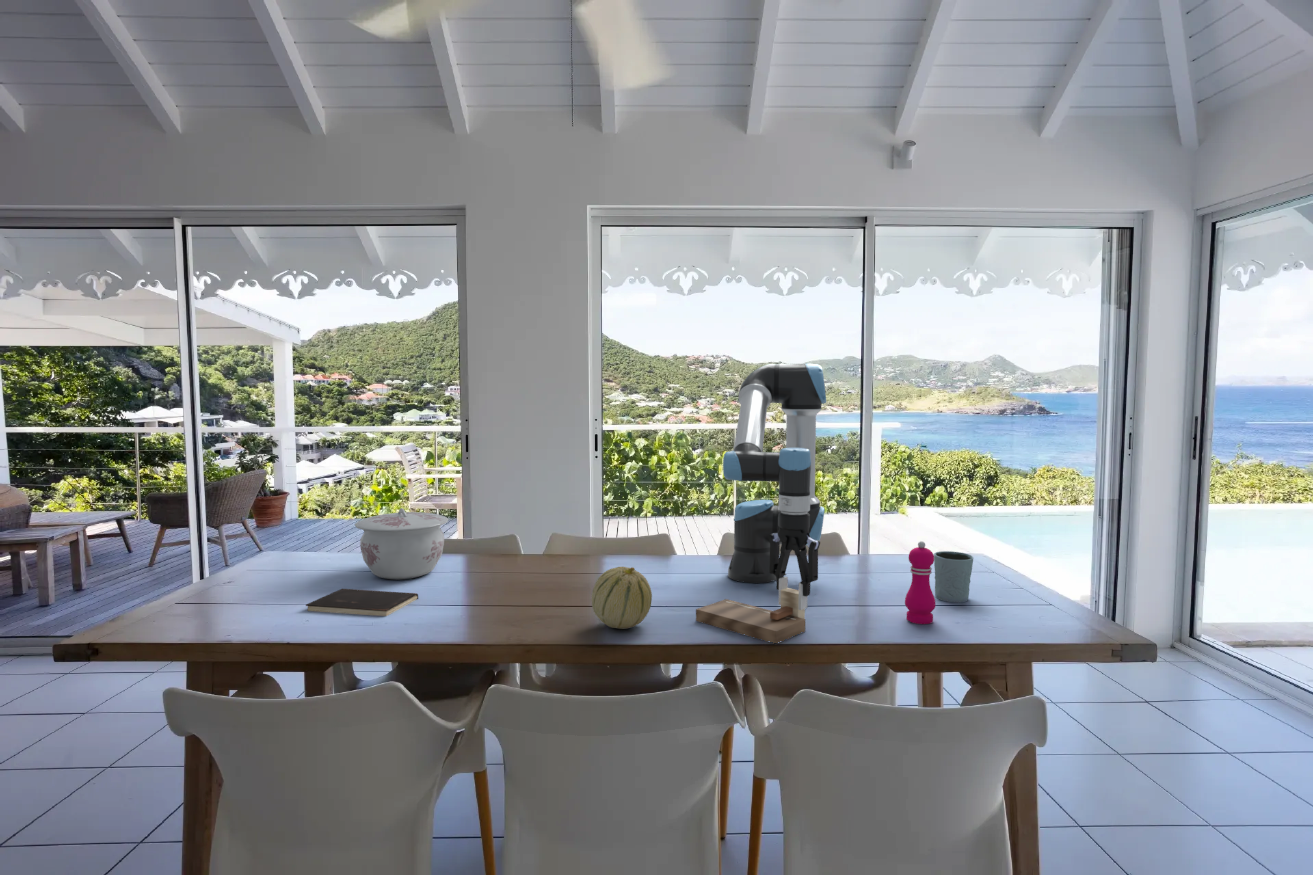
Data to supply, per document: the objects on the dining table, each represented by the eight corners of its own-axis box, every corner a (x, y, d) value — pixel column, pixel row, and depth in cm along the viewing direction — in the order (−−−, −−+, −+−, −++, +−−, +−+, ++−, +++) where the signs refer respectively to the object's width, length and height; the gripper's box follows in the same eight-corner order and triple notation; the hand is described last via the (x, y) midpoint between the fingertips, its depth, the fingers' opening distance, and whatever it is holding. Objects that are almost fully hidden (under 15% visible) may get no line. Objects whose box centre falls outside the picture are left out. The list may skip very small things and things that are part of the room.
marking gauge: (764, 628, 179) (765, 595, 178) (790, 617, 187) (791, 586, 186) (782, 633, 175) (782, 599, 175) (807, 622, 183) (808, 590, 183)
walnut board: (696, 620, 186) (696, 608, 186) (726, 610, 194) (726, 598, 194) (776, 644, 169) (776, 630, 169) (805, 631, 178) (805, 618, 178)
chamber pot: (411, 590, 213) (409, 518, 212) (335, 581, 223) (333, 512, 221) (468, 567, 240) (467, 503, 238) (398, 560, 249) (396, 498, 248)
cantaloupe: (597, 616, 189) (597, 558, 188) (654, 618, 188) (654, 559, 187) (585, 636, 175) (585, 573, 174) (648, 638, 173) (648, 574, 172)
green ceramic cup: (942, 590, 213) (943, 549, 212) (978, 598, 206) (979, 555, 205) (926, 597, 206) (927, 555, 205) (962, 605, 199) (964, 561, 198)
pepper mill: (899, 616, 190) (901, 538, 188) (927, 615, 190) (929, 538, 189) (911, 625, 182) (913, 544, 181) (940, 624, 183) (942, 544, 182)
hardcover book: (386, 618, 189) (386, 609, 189) (305, 613, 194) (305, 604, 194) (418, 600, 205) (418, 592, 205) (343, 595, 209) (343, 587, 209)
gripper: (754, 509, 184) (753, 601, 186) (818, 518, 172) (816, 617, 173) (772, 505, 190) (771, 595, 191) (835, 514, 177) (833, 610, 179)
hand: (792, 605), depth 182 cm, fingers closed on marking gauge, 5 cm apart
